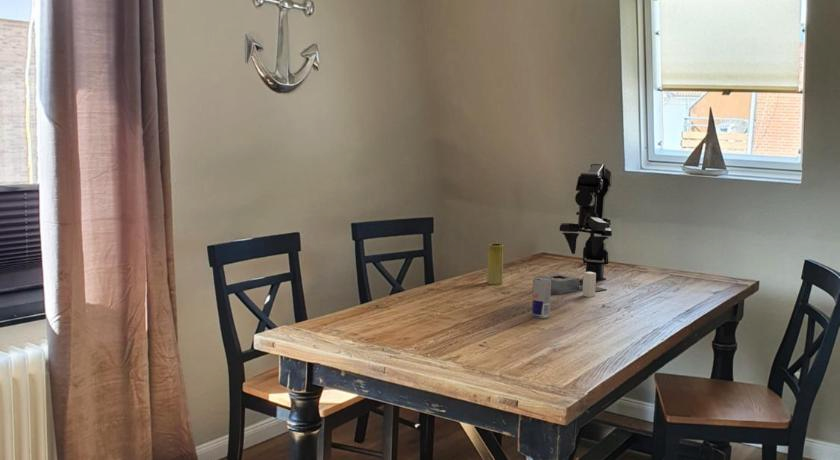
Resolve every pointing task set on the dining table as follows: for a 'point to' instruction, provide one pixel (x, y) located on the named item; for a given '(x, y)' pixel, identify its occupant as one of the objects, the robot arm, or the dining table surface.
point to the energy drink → (541, 297)
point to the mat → (597, 289)
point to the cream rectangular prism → (589, 284)
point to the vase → (495, 264)
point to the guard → (563, 283)
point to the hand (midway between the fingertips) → (583, 255)
